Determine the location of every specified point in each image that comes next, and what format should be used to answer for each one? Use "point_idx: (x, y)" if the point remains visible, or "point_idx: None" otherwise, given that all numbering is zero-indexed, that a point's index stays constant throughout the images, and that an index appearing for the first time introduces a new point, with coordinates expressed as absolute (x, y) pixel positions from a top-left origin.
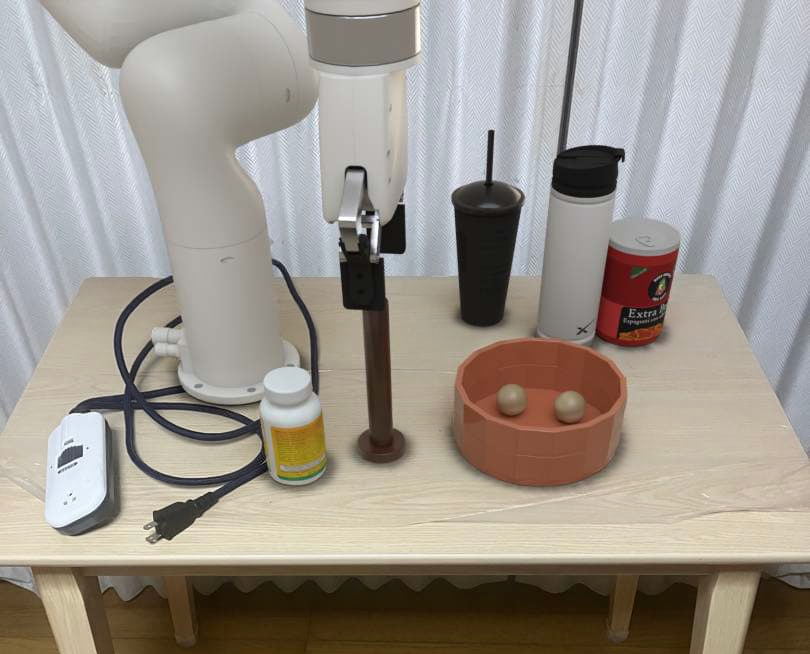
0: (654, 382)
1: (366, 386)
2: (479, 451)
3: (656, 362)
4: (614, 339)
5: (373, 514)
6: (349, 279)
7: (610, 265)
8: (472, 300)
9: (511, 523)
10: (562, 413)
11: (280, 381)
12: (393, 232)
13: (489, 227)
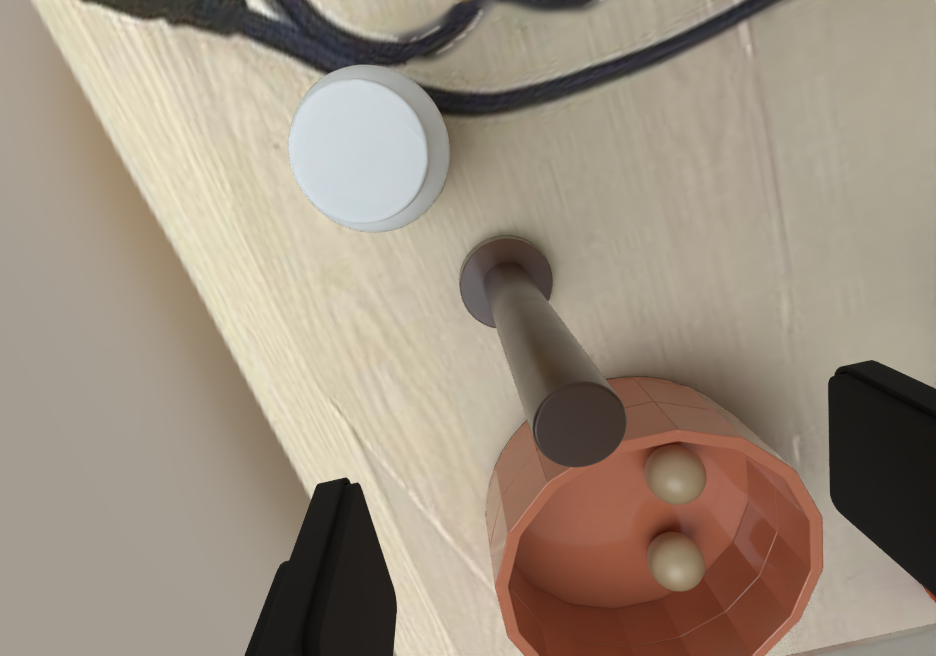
0: (808, 615)
1: (512, 297)
2: (505, 472)
3: (869, 607)
4: None
5: (328, 337)
6: (252, 639)
7: None
8: None
9: (396, 527)
10: (650, 558)
11: (341, 139)
12: (905, 530)
13: None
